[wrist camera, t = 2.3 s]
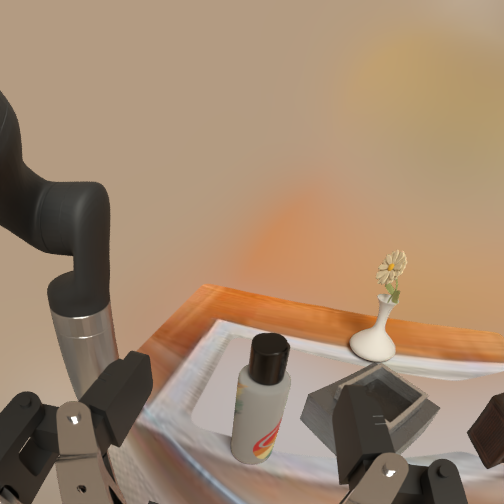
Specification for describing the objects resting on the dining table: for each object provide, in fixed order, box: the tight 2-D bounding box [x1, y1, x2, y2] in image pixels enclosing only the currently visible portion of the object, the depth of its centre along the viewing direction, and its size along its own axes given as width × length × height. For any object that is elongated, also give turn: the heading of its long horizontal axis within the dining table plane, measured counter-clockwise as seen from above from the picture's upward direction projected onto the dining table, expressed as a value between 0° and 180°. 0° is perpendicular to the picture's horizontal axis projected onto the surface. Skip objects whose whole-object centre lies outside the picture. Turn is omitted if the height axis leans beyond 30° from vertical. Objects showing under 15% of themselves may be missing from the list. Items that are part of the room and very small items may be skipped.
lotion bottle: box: [231, 333, 291, 464], centre depth 29 cm, size 6×6×20 cm
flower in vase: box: [350, 250, 407, 362], centre depth 54 cm, size 13×11×25 cm
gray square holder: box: [300, 363, 440, 455], centre depth 35 cm, size 16×16×9 cm
